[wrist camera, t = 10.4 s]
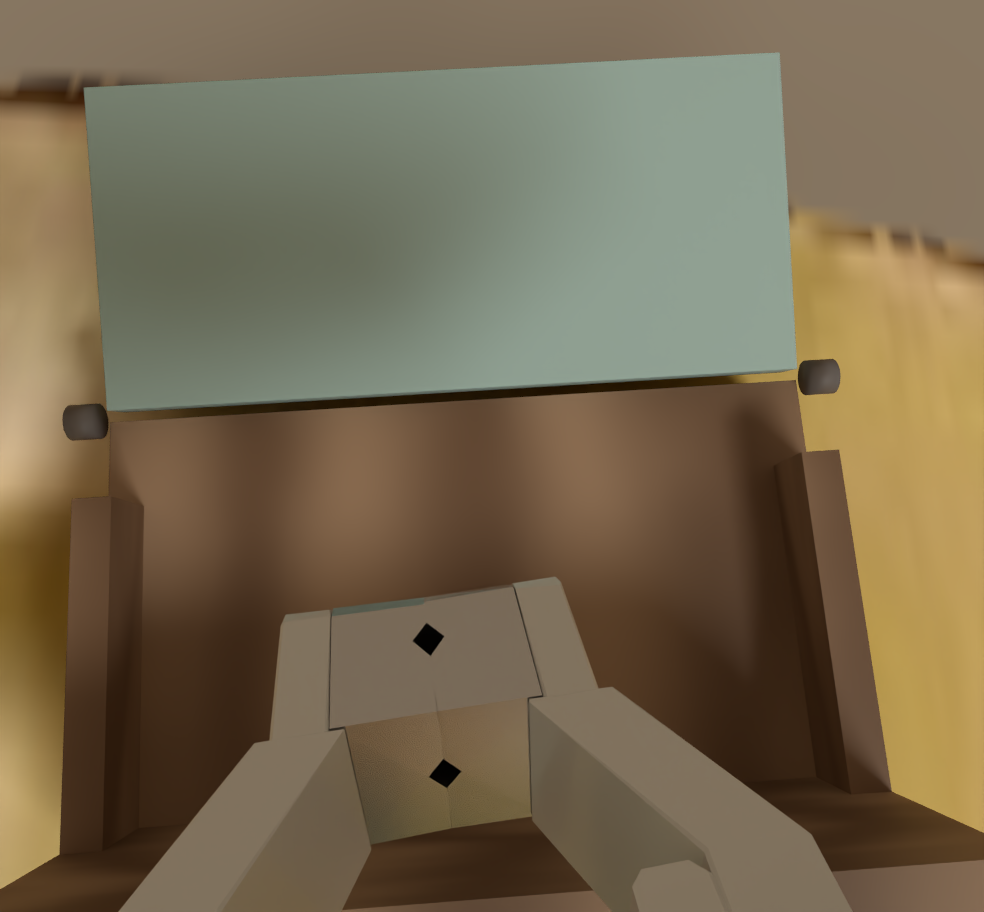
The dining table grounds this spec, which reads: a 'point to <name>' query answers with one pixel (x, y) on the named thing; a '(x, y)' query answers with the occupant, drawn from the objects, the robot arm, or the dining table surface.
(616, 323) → the panel
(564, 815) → the robot arm
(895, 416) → the dining table surface
